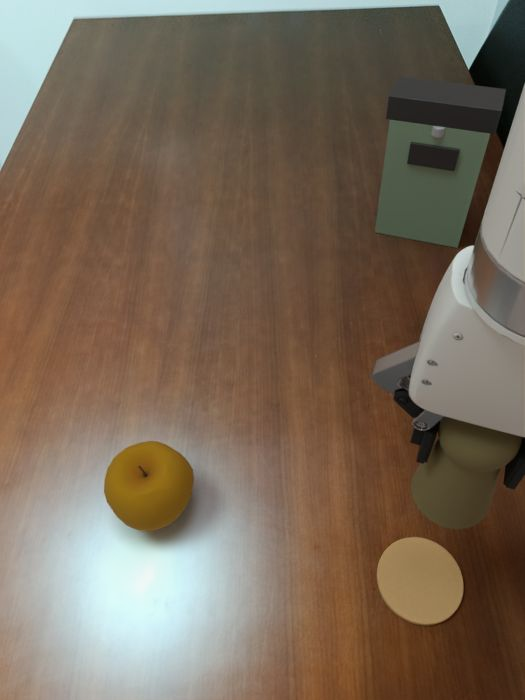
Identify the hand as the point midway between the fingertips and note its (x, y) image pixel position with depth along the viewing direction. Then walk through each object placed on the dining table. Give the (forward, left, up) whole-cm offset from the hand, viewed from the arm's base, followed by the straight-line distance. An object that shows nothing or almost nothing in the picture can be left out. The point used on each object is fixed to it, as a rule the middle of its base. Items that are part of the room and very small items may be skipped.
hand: (467, 456), depth 41 cm
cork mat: (0, +2, -21) cm, 21 cm away
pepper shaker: (0, 0, -6) cm, 6 cm away
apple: (+27, +3, -21) cm, 34 cm away
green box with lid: (+9, -48, -21) cm, 53 cm away
